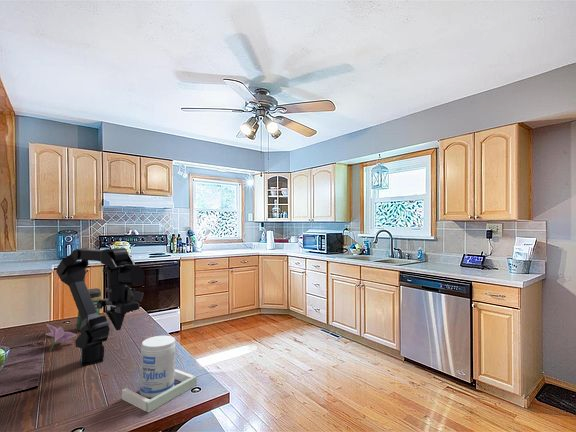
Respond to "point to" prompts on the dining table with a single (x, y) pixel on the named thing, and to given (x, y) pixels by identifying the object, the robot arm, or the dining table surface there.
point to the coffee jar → (95, 297)
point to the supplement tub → (157, 365)
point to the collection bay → (151, 404)
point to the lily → (60, 334)
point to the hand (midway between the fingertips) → (118, 330)
